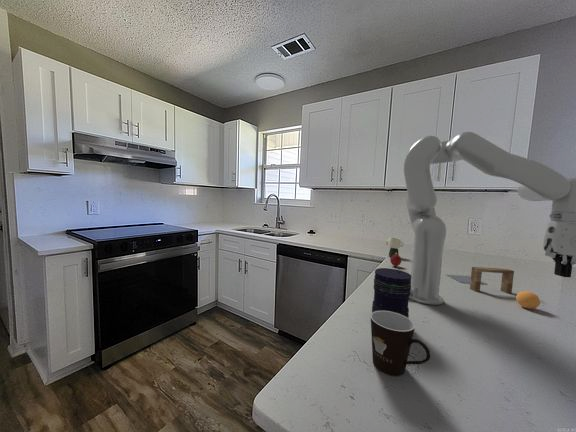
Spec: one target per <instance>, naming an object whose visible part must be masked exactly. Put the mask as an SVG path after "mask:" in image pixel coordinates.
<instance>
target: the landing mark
mask: <svg viewBox="0 0 576 432" xmlns="http://www.w3.org/2000/svg"><path fill="white" fill-rule="evenodd" d="M446 275H447V277H448V276H449V277H448V278H450V277H451V279H452V278H453V280H454V279H455V281H457V282H458V283H461V284H470V281H471V275H461V274H460V275H459V274H446ZM481 285H487V283H486V282H484V281H482V280H481Z"/></svg>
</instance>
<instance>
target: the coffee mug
mask: <svg viewBox="0 0 576 432" xmlns="http://www.w3.org/2000/svg"><path fill="white" fill-rule="evenodd" d="M370 328H371V329H370V331H371V351H372V353H371V354H372V364H373V366H374V367H375V368H376V369H377V370H378V371H380V372H381V373H383V374H385V375H387V376H391V377H401V376H402V375H404V374H405V372H406V368H407V365H423V364H425V363H427V362H428V361H430V360H431V359H430V358H431V352H430V349H429V347H428V346H427V345H426V344H425V343H424V342H423V341H422V340H421V339H418V338H417V339H416V338H413V337H414V332H415V330H416V329H415V328H416V324H415V323H414V321H413V320H411V319H410V318H407V317H405V316H403V315H401V314H398V313H395V312H390V311H375V312H373V313H372V312H371V313H370ZM414 343H416V344H419V345H420V346H421V347H422V348H423V349H424V351H425V353H426V357H425V358H424V359H423V360H409V355H410V350H411V346H412V345H413V344H414Z"/></svg>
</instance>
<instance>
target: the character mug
mask: <svg viewBox="0 0 576 432" xmlns="http://www.w3.org/2000/svg"><path fill="white" fill-rule="evenodd" d="M385 245H388V247H389V248H390V249H389V251H388V256H389V257H390V258H391V257H392V256H393V255H395V253H397V254H398V255H399V249H400V248H403V247H404V242H403V241H401V238H399V237H388V239H386V240H385ZM399 256H400V255H399Z"/></svg>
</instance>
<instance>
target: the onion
mask: <svg viewBox="0 0 576 432" xmlns="http://www.w3.org/2000/svg"><path fill="white" fill-rule="evenodd" d="M389 261H390V264H391V265H392V266H394V267H395V268H396V267H398V266H400V265H401V264H402V258H401V256H400V255H398V254H397V253H395V255H393V256H392V257H390V259H389Z"/></svg>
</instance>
